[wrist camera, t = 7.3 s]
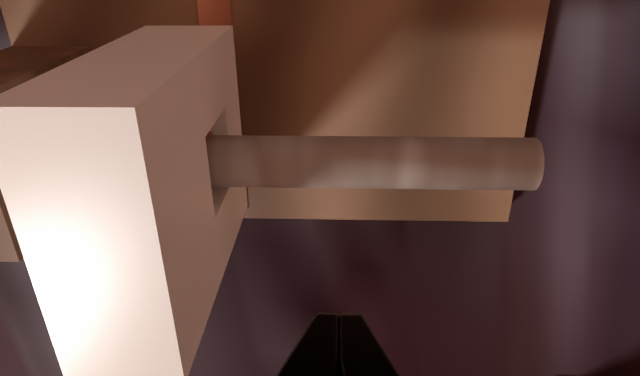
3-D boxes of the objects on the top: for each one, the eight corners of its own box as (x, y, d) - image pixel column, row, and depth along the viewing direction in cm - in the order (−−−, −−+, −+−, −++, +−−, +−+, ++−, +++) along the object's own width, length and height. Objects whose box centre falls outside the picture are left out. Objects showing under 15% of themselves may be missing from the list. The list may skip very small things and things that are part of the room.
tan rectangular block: (232, 25, 17) (134, 107, 9) (247, 205, 20) (185, 383, 12) (145, 25, 17) (-28, 106, 9) (174, 204, 20) (64, 380, 12)
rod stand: (544, -29, 18) (676, -5, 11) (501, 210, 23) (574, 337, 16) (8, -27, 19) (-195, -3, 12) (70, 204, 23) (-49, 323, 16)
